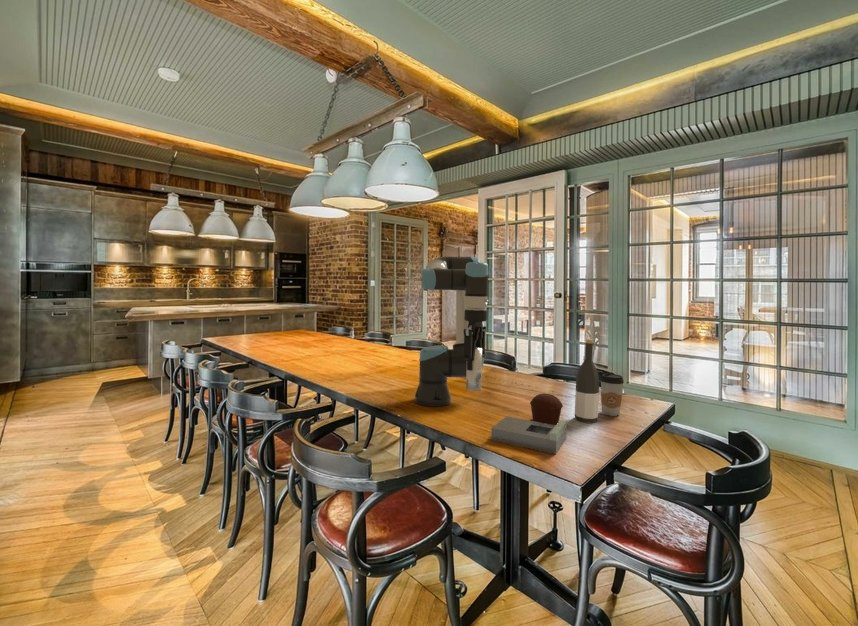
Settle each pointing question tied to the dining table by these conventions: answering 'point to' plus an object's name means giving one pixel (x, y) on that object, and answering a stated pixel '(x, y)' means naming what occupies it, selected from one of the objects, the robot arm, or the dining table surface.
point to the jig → (530, 434)
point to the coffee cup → (611, 393)
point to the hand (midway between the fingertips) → (473, 377)
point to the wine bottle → (587, 388)
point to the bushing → (476, 372)
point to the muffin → (546, 409)
